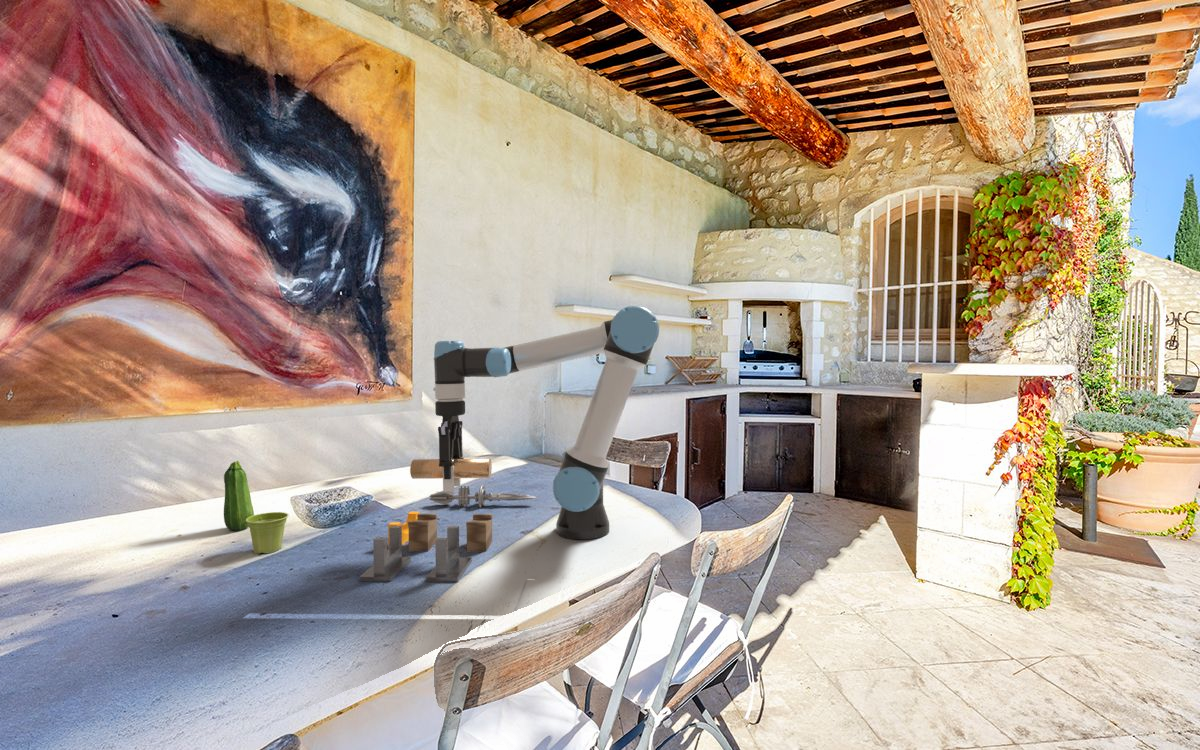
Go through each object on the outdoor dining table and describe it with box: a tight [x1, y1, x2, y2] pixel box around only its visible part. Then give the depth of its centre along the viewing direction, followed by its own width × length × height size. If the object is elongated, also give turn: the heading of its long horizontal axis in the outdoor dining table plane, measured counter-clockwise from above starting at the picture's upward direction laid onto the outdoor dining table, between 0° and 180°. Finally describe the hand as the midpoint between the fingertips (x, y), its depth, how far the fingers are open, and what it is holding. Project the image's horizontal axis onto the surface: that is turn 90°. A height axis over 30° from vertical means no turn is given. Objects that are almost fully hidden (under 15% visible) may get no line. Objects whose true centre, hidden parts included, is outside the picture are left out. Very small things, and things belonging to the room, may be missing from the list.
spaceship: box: [428, 484, 537, 509], centre depth 176 cm, size 8×35×8 cm, turn 90°
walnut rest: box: [408, 513, 493, 552], centre depth 140 cm, size 20×8×8 cm, turn 89°
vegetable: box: [223, 460, 255, 532], centre depth 154 cm, size 7×7×20 cm
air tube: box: [409, 458, 493, 480], centre depth 140 cm, size 20×5×5 cm, turn 89°
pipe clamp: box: [387, 511, 421, 549], centre depth 145 cm, size 12×4×6 cm, turn 171°
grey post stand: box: [358, 525, 473, 583], centre depth 124 cm, size 22×12×9 cm, turn 89°
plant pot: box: [246, 511, 289, 554], centre depth 138 cm, size 9×9×9 cm
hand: (452, 488), depth 140 cm, fingers closed on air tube, 5 cm apart
